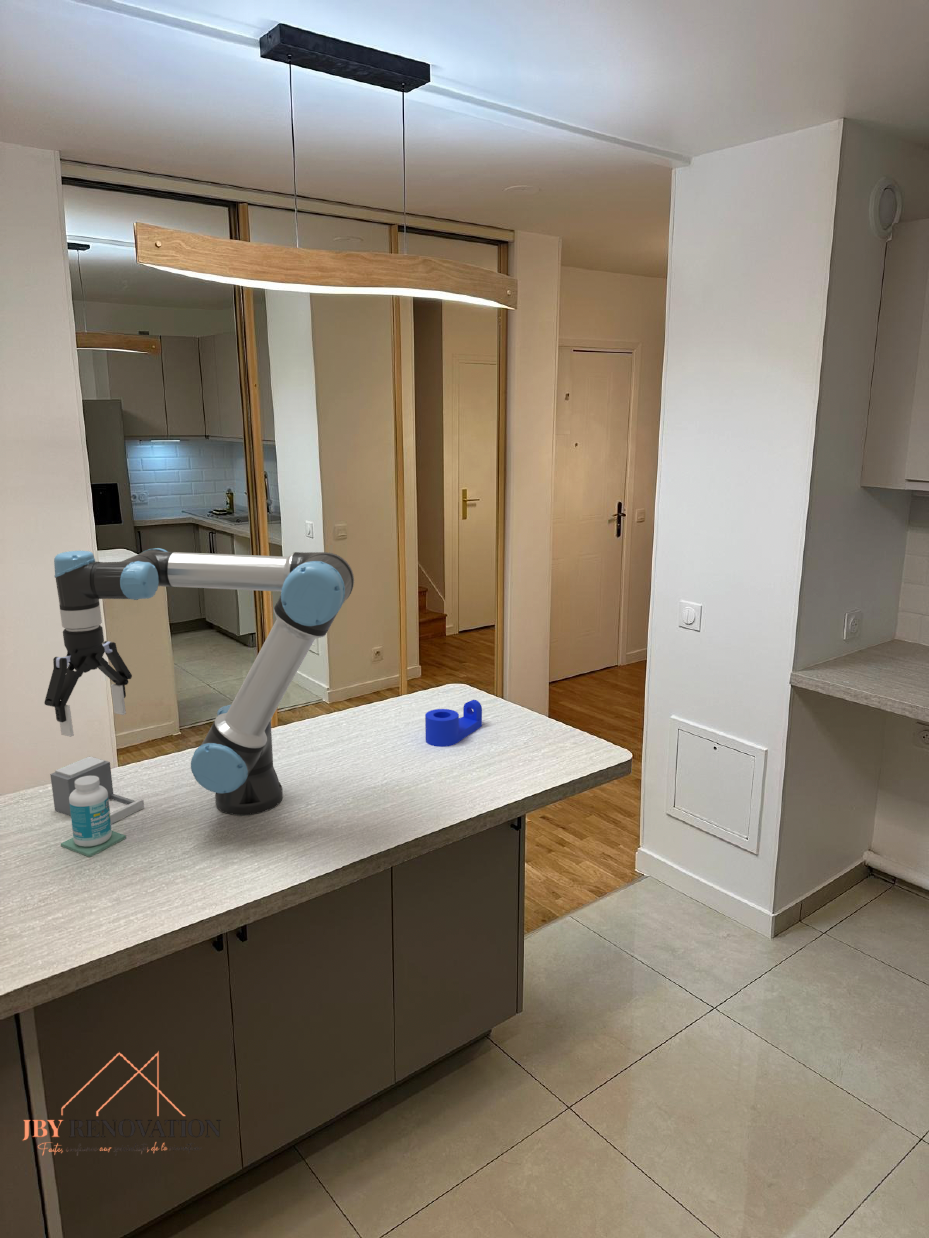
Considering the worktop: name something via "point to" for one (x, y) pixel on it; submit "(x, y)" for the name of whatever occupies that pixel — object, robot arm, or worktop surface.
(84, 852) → the mat
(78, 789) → the pill bottle
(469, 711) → the bracket
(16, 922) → the worktop surface
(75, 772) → the grey open frame
